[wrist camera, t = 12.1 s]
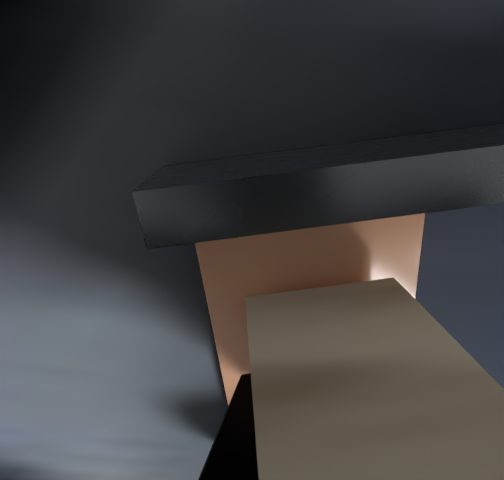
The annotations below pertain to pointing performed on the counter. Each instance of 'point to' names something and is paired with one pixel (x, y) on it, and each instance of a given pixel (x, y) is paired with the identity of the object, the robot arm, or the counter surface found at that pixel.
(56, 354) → the counter surface
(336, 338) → the maple block
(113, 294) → the counter surface
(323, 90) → the counter surface
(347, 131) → the counter surface
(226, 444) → the robot arm
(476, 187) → the channel
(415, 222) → the pad
